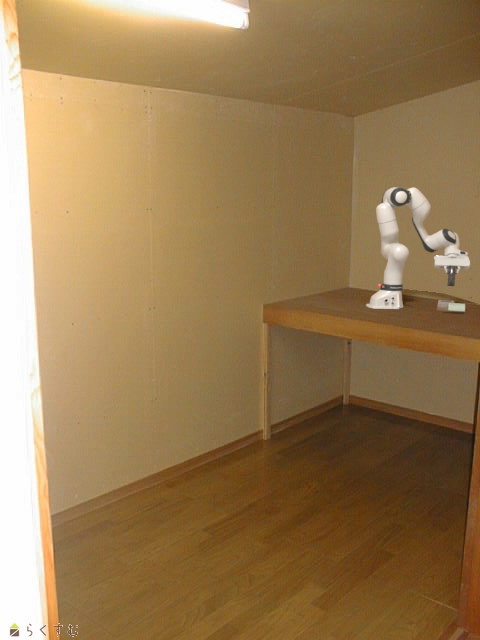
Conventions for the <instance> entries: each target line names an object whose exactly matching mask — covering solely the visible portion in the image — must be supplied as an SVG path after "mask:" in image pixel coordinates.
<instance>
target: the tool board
mask: <svg viewBox="0 0 480 640" xmlns="http://www.w3.org/2000/svg"><path fill="white" fill-rule="evenodd" d="M436 311H448V312H443V314H456V315H466V313H467V312H466V311H467V310H466V308H465V311H453V310H448V307H438V303H437V304H436Z"/></svg>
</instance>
